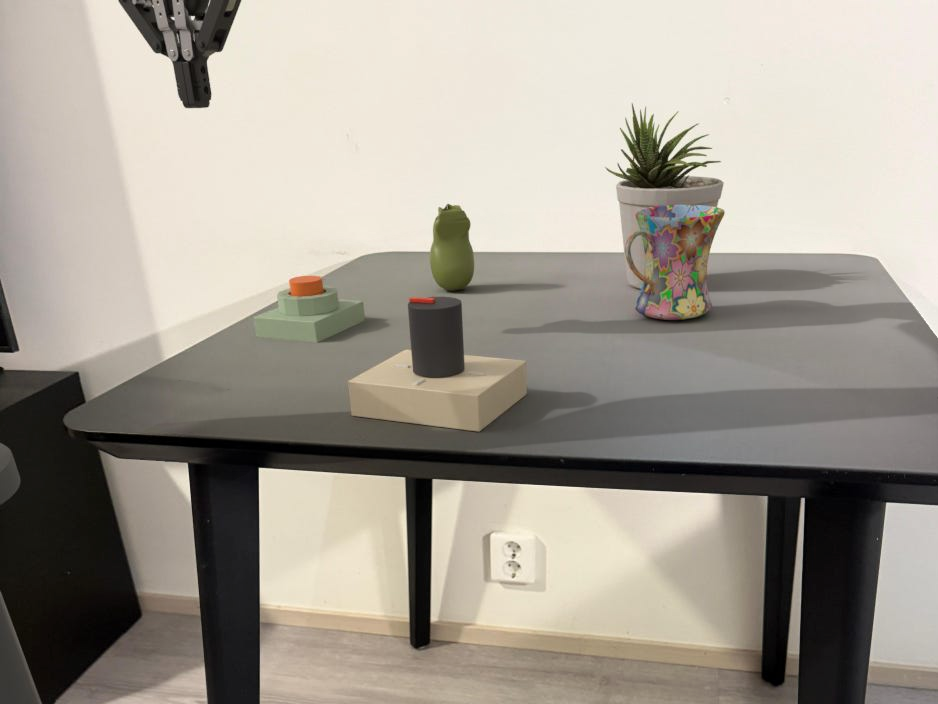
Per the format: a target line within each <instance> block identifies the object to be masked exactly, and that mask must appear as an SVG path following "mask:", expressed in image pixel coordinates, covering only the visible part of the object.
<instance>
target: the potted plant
mask: <svg viewBox="0 0 938 704" xmlns="http://www.w3.org/2000/svg"><path fill="white" fill-rule="evenodd" d="M631 111H632V126H633V127H632V128H633V131H632V129H631V127H630V125H629V122H628V119H627V117H624V119H625V125H626V128H627V130H628V133H629V136H630V138H629V137H628V135H627V134H626V132H625V131H624V130H623V129H622V128H621V127H619V130H620V132H621V133H622V136H623V138H624V141H625V143H626V145H627V147H628V150H629V153H631V155H632V157H630V155H628V153H626V151H625V150H624V149H620V151H621V153H622V155H624V157H625V158H626V159H627V160H628V161H629V165H630V167H627V168H626V170H625V171H624V170H623V169H622V167H621V166H620V164H619V162H617V163H616V164H617V167H618V169H619V171H620V173H619V172H616V171H613V170H611V169H610V168H608V167H606V166H604V168H605V169H606V171H607V172H609V173H610V174H612V175H614V176H615V177H618V178H620V179H623V180H621V181H619V182H617V184H616V185H615V189H616V197H617V202H618V204H619V205H618V207H619V215H620V216H619V217H620V224H621V225H620V226H621V234H622V243H623V254H624V263H625V273H626V279H627V283H628V284H629V285H630V286H631V287H633V288H635V289H639V290H641V288H642V284H643V281H642V280H640V279H639V278H638V277H637V276H636V275H635V274H634V273H633V272H632V270H631V269H630V267H629V265H628V263H627V260H626V256H625V244H626V241H627V239H628V238H629V236H630V235H631V234H632V233H634V232H637V231H640V228H639V225H638V222H637V219H636V217H635V213H636V211H637V210H640V209H643V208H648V207H654V206H664V205H703V206H712V207H718V205H719V201H720V199H721V197H722V193H723V187H724V184H725V183H724V181H722V179H719V178H716V177H708V176H696V175H690V174H689V173H690V172H692V171H693V170H695V169H697V168H700V167H703V168H707V167H708V164H716V163H722V161H721V160H706V161H704V162H703V161H702V162H699V161H690V162H687V161H685V160H683V159H685V158H688V157H707V156H708V155H707V154H704V153H699V152H692V151H696V150H697V151H698V150H713V147H709V146H702V145H701V146H694V147H690V146H692V145H694V143H696V142H697V141H700V139H703V138H705V137H708V136H710V134H708V133H707V134H704V135H700V136H698V137H696V138H694V139H692V140H690V141H689V142H688V143H686V144H684V146H682V147H681V148H680V149H679V150H678V151H677V152H676V153H675V154H674V155H673V156H672V157H671V158H670V156H671V154H672V153H673V152H674V150H675V148H676V147H677V146H678V145H679V144H680V142H681V140H683V138H684V137H685V136H686V135H687V134H688V133H689V131H691V130H693V129H694V128H695V127H696V126H698V125H700V123H695V124H694V125H692V126H690V127H689V128H687V129H684V130H683V131H681V132H680V133H678V134H677V135H676V136H674V137H672V138H671V139H669V140H668V141H667V142H665V144H664V145H663V146H662V147H661V144H662V140H663V138H664V135H665V133H666V131H667V129H668V127H669V125H670V123H671V122H672V121H673V119H674V118H675V117H676V116H677V114H678V113H680V112H679V110H678V111H676V113H674V115H673V116H672V117H671V118H670V119H668V121H667V122H666V124H665V126H664V127H663V129H662V131H661V133H660V135H659V138H658V132H659V128H660V124H657V127H656V129H655V123H654V116H655V115H654V113H652V115H651V116H650V118H649V121H648V123H647V121H646V120H647V119H646V118H647V106H644V112H643V113H644V115H643V114H642V109H639V117H640V118H639V120H638V117H637V115H636V111H635V107H634V104H633V102H631ZM660 147H661V149H660ZM669 158H670V159H669ZM635 161H636V162H635ZM688 174H689V175H688ZM631 256H632V260H633V263H634V265H635V267H636V268H637V270H638V271H639V272H640V273H641V274H642V275H643V276H644V269H645V257H644V246H643V241H642V236H641V235H640V236H637V237H636V238H635V239H634V240H633V242H632V245H631Z"/></svg>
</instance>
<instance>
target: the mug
mask: <svg viewBox="0 0 938 704" xmlns="http://www.w3.org/2000/svg"><path fill="white" fill-rule="evenodd" d="M635 217H636V219H637V222H638V225H639V228H640V231H637V232H634V233H632V234H631V235H630V236H629V238H628V239H627V241H626V244H625V255H624V257H625V256H626V260H627V263H628V265H629V267H630V269H631V270H632V272H633V273H634V274H635V275H636V276H637V277H638V278H639V279H640V280H642V281H643V284H642V288H641V289H640V291H639V294H638V296H637V299H636V300H635V302H634V305H633V306H634V309H635V311H636V312H637V313H638V314H641V315H643V316H645V317H648V318H652V319H657V320H663V321H682V320H689V319H693V318H698V317H701V316H703V315H705V314H707V313H708V312H710V311H711V310H712V307H713V303H712V301H711V298H710V294H709V290H708V278H707V274H708V262H709V257H710V253H711V248H712V245H713V242H714V239H715V236H716V234H717V231H718V229H719V226H720V225H721V222H722V220H723V219H724V217H725V210H724V209H723V208H721V207H718V206H717V207H712V206H703V205H664V206H654V207H648V208H643V209H640V210H637V211H636V213H635ZM640 235H641V236H642V241H643V246H644V257H645V269H644V276H643V275H642V274H641V273H640V272H639V271H638V270H637V268H636V267H635V265H634V263H633V260H632V256H631V245H632V242H633V240H634V239H635V238H636V237H637V236H640Z"/></svg>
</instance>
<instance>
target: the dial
mask: <svg viewBox="0 0 938 704" xmlns="http://www.w3.org/2000/svg"><path fill="white" fill-rule="evenodd" d="M408 299H409V300H408V301H409V302H408V303H407V313H408V325H409V339H410V350H411V353H412V366H413V372H414V374H416V375H418V376H422V377H431V378H438V377H448V376H453V375H456V374H459V373H461V372H463V371H464V369H465V365H464V355H465V348H464V347H465V346H464V326H463V305H462V304H463V303H462V300H461V299H460V298H456V297H451V296H428V297H419V296H411V297H409V298H408Z"/></svg>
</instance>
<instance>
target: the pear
mask: <svg viewBox="0 0 938 704" xmlns="http://www.w3.org/2000/svg"><path fill="white" fill-rule="evenodd" d="M437 211H438V214H437V216H436V217H435V219H434V222H433V225H432V244H431V246H430V249H429V250H430V251H429V266H430V271H431V275H432V278H433V279H434V281H435V283H436V284H437V285H438V287H440V288H441V289H443V290H446V291H450V292H456V291H460V290H463V289H465V288H466V287H467V286H469V284H470V283H471V282H472V280H473V277H474V274H475V273H474V272H475V254H474V249H473V246H472V244H471V241H470V230H471V220H470V218H469V217H468V215H467V214H466V212H465V210H463V209H462V207H461V205H458V204H454V205H452V204H450V203H447V204H446V205H445V207H444V208H443V207H440V206H438V208H437Z"/></svg>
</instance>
